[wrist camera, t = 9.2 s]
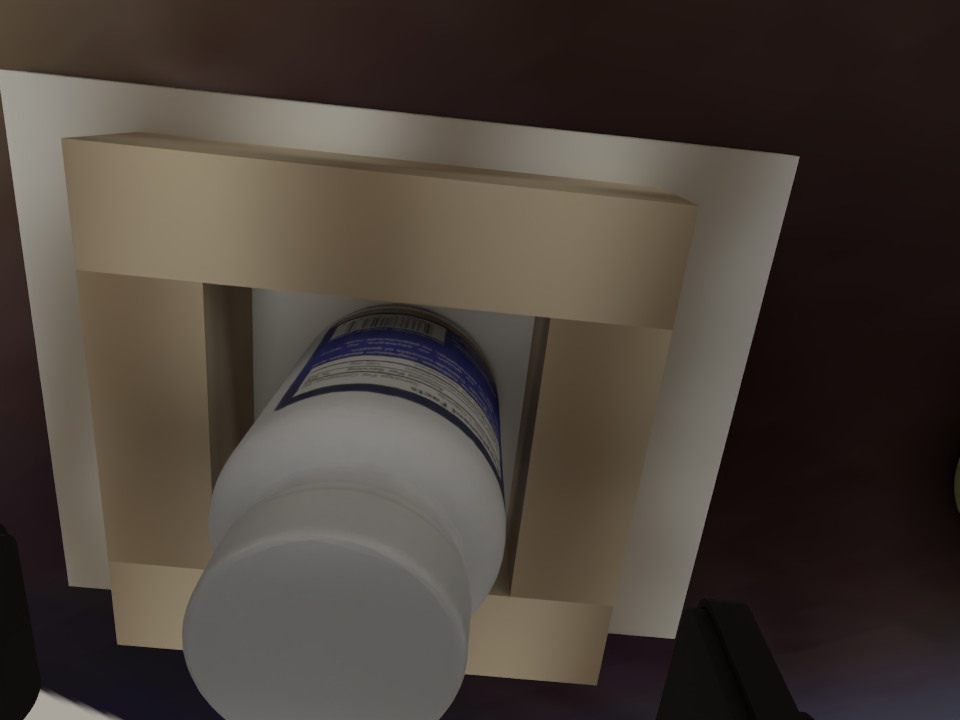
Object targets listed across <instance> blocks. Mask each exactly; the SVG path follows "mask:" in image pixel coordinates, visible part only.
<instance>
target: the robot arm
mask: <svg viewBox="0 0 960 720" xmlns="http://www.w3.org/2000/svg"><path fill="white" fill-rule="evenodd" d="M40 685H41V683H40V674H39V668H38V662H37V657H36V651H35V645H34V639H33V634H32V628H31V622H30V616H29V611H28V605H27V599H26V593H25V587H24V582H23V576H22V570H21V564H20V559H19V553H18V547H17V543H16V540H15V538H14V537H13V536H11V535H8V534H7V531H6V528H5V527H4V526H3V525H2V524H0V720H23V719H24V718H25V717H26V716H27V714H28V713H29V712H30V710H31V709H32V707H33V705H34V704H35V701H36V699H37V697H38V694H39V691H40ZM656 720H814V719H813V718H812V717H811V716H810V715H809V714H808V713H806V712H799V711H798V708H797V706H796V704H795V702H794V700H793V698H792V696H791V694H790V692H789V690H788V688H787V686H786V683H785V681H784V679H783V677H782V675H781V673H780V671H779V669H778V667H777V665H776V663H775V661H774V658H773V656H772V654H771V652H770V650H769V648H768V646H767V644H766V642H765V640H764V638H763V636H762V633H761V631H760V629H759V627H758V625H757V623H756V621H755V619H754V617H753V615H752V613H751V611H750V609H749V607H748V606H747V605H746V604H745V603H743V602H734V601H725V600H716V599H706V598H704V599H701V601H700V602H699V603H698V606H697V608H687V609H686V610H685V613H684V615H683V619H682V623H681V627H680V630H679V634H678V638H677V642H676V645H675V649H674V653H673V657H672V661H671V664H670V668H669V672H668V676H667V679H666V683H665V687H664V691H663V695H662V698H661V702H660V706H659V710H658V713H657V717H656Z"/></svg>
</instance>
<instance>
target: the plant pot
mask: <svg viewBox="0 0 960 720" xmlns="http://www.w3.org/2000/svg"><path fill="white" fill-rule="evenodd" d="M954 495H955V501H956V505H957V508H958V511H959V513H960V458H959V461H958V465H957V468H956V473H955V479H954Z"/></svg>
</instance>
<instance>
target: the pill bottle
mask: <svg viewBox="0 0 960 720" xmlns="http://www.w3.org/2000/svg"><path fill="white" fill-rule="evenodd" d="M208 527H209V542H210V546H211V550H212V554H213V555H212V557H211V559H210V561H209V563H208V564H207V566H206V568H205V570H204V572H203V574H202V576H201V577H200V579H199V581H198V583H197V585H196V587H195V589H194V591H193V593H192V595H191V597H190V599H189V602H188V605H187V608H186V611H185V615H184V620H183V628H182V640H183V652H184V656H185V660H186V663H187V667H188V670H189V672H190V674H191V676H192V678H193V680H194V682H195V684H196V686H197V688H198V690H199V691H200V693H201V694H202V695H203V697H204V698H205V699H206V700H207V701H208V703H209V704H210V705H211V706H212V707H213V708H214V709H215V710H216V711H217V712H218V713H219V714H220V715H221V716H222V717H223V718H225V719H226V720H439V719H440V717H441V716H442V715H443V714H444V713H445V711H446V710H447V709H448V707H449V706H450V705H451V703H452V702H453V700H454V698H455V696H456V695H457V693H458V691H459V689H460V686H461V683H462V681H463V678H464V674H465V669H466V664H467V657H468V643H469V630H470V619H471V616H472V615H473V614H474V613H475V612H476V611H477V610H478V608H479V607H480V605H481V604H482V603H483V601H484V600H485V598H486V596H487V595H488V593H489V592H490V590H491V588H492V586H493V584H494V582H495V580H496V578H497V576H498V573H499V570H500V566H501V563H502V559H503V554H504V548H505V536H506V508H505V496H504V481H503V461H502V450H501V432H500V414H499V399H498V391H497V385H496V381H495V378H494V375H493V372H492V369H491V367H490V365H489V363H488V361H487V359H486V358H485V356H484V354H483V353H482V351H481V350H480V349H479V347H478V346H477V345H476V343H475V342H474V341H473V340H472V339H471V338H470V337H469V336H468V335H467V334H466V333H465V332H464V331H463V330H461V329H460V328H459V327H457V326H456V325H455V324H453V323H452V322H450V321H448V320H447V319H445V318H443V317H441V316H439V315H436V314H434V313H431V312H428V311H425V310H422V309H418V308H413V307H407V306H394V305H389V306H377V307H372V308H366V309H363V310H360V311H357V312H354V313H352V314H350V315H347V316H345V317H343V318H341V319H340V320H338V321H336V322H335V323H333V324H332V325H330V326H329V327H327V328H326V329H325V330H324V331H323V332H322V333H321V334H319V335H318V336H317V337H316V338H315V340H314V341H313V342H312V343H311V344H310V345H309V347H308V348H307V349H306V351H305V352H304V354H303V355H302V357H301V358H300V359H299V361H298V362H297V364H296V365H295V367H294V368H293V370H292V371H291V373H290V374H289V376H288V377H287V378H286V380H285V381H284V382H283V384H282V385H281V387H280V388H279V390H278V391H277V392H276V394H275V395H274V397H273V398H272V399H271V401H270V402H269V403H268V405H267V406H266V407H265V409H264V410H263V411H262V413H261V414H260V416H259V417H258V419H257V420H256V421H255V423H254V424H253V425H252V427H251V428H250V430H249V431H248V432H247V434H246V435H245V436H244V438H243V439H242V440H241V442H240V443H239V444H238V446H237V447H236V449H235V450H234V451H233V453H232V454H231V456H230V457H229V459H228V460H227V462H226V463H225V465H224V467H223V469H222V471H221V473H220V475H219V477H218V479H217V482H216V484H215V487H214V490H213V494H212V497H211V503H210V510H209V523H208Z"/></svg>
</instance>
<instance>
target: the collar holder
mask: <svg viewBox="0 0 960 720" xmlns="http://www.w3.org/2000/svg"><path fill="white" fill-rule="evenodd" d="M0 90H1V97H2V104H3V112H4V119H5V126H6V133H7V141H8V148H9V155H10V162H11V170H12V177H13V184H14V191H15V198H16V206H17V213H18V220H19V227H20V235H21V242H22V249H23V256H24V263H25V271H26V278H27V285H28V292H29V300H30V307H31V314H32V321H33V328H34V336H35V343H36V350H37V357H38V365H39V372H40V379H41V386H42V393H43V401H44V408H45V415H46V422H47V430H48V437H49V444H50V451H51V458H52V466H53V473H54V480H55V487H56V495H57V502H58V509H59V516H60V524H61V531H62V538H63V545H64V552H65V560H66V567H67V574H68V581H69V586H77V587H89V588H100V589H111V592H112V601H113V609H114V618H115V627H116V636H117V644H119V645H131V646H142V647H154V648H166V649H178V650H183V640H182V628H183V620H184V615H185V611H186V608H187V605H188V602H189V599H190V597H191V595H192V593H193V591H194V589H195V587H196V585H197V583H198V581H199V579H200V577H201V576H202V574H203V572H204V570H205V568H206V566H207V564H208V563H209V561H210V559H211V557H212V555H213V554H212V550H211V546H210V542H209V527H208V523H209V510H210V503H211V497H212V494H213V490H214V487H215V484H216V482H217V479H218V477H219V475H220V473H221V471H222V469H223V467H224V465H225V463H226V462H227V460H228V459H229V457H230V456H231V454H232V453H233V451H234V450H235V449H236V447H237V446H238V444H239V443H240V442H241V440H242V439H243V438H244V436H245V435H246V434H247V432H248V431H249V430H250V428H251V427H252V425H253V424H254V423H255V421H256V420H257V419H258V417H259V416H260V414H261V413H262V411H263V410H264V409H265V407H266V406H267V405H268V403H269V402H270V401H271V399H272V398H273V397H274V395H275V394H276V392H277V391H278V390H279V388H280V387H281V385H282V384H283V382H284V381H285V380H286V378H287V377H288V376H289V374H290V373H291V371H292V370H293V368H294V367H295V365H296V364H297V362H298V361H299V359H300V358H301V357H302V355H303V354H304V352H305V351H306V349H307V348H308V347H309V345H310V344H311V343H312V342H313V341H314V340H315V338H316V337H317V336H318V335H319V334H321V333H322V332H323V331H324V330H325V329H326V328H327V327H329V326H330V325H332V324H333V323H335V322H336V321H338V320H340V319H341V318H343V317H345V316H347V315H350V314H352V313H354V312H357V311H360V310H363V309H366V308H372V307H377V306H389V305H394V306H407V307H413V308H418V309H422V310H425V311H428V312H431V313H434V314H436V315H439V316H441V317H443V318H445V319H447V320H448V321H450V322H452V323H453V324H455V325H456V326H457V327H459V328H460V329H461V330H463V331H464V332H465V333H466V334H467V335H468V336H469V337H470V338H471V339H472V340H473V341H474V342H475V343H476V345H477V346H478V347H479V349H480V350H481V351H482V353H483V354H484V356H485V358H486V359H487V361H488V363H489V365H490V367H491V369H492V372H493V375H494V378H495V381H496V385H497V391H498V399H499V414H500V432H501V450H502V461H503V481H504V496H505V508H506V536H505V548H504V554H503V559H502V563H501V566H500V570H499V573H498V576H497V578H496V580H495V582H494V584H493V586H492V588H491V590H490V592H489V593H488V595H487V596H486V598H485V600H484V601H483V603H482V604H481V605H480V607H479V608H478V610H477V611H476V612H475V613H474V614H473V615H472V616H471V619H470V630H469V643H468V657H467V664H466V669H465V674H471V675H482V676H494V677H506V678H518V679H529V680H541V681H553V682H564V683H576V684H588V685H597V681H598V676H599V672H600V667H601V662H602V658H603V653H604V648H605V644H606V639H607V634H608V633H614V634H625V635H637V636H648V637H660V638H671V639H675V636H676V632H677V628H678V624H679V620H680V616H681V612H682V609H683V605H684V601H685V597H686V593H687V589H688V585H689V582H690V578H691V574H692V570H693V566H694V562H695V558H696V555H697V551H698V547H699V543H700V539H701V535H702V531H703V528H704V524H705V520H706V516H707V512H708V508H709V504H710V501H711V497H712V493H713V489H714V485H715V481H716V477H717V474H718V470H719V466H720V462H721V458H722V454H723V450H724V447H725V443H726V439H727V435H728V431H729V427H730V423H731V420H732V416H733V412H734V408H735V404H736V400H737V396H738V393H739V389H740V385H741V381H742V377H743V373H744V369H745V366H746V362H747V358H748V354H749V350H750V346H751V342H752V339H753V335H754V331H755V327H756V323H757V319H758V315H759V312H760V308H761V304H762V300H763V296H764V292H765V288H766V285H767V281H768V277H769V273H770V269H771V265H772V261H773V258H774V254H775V250H776V246H777V242H778V238H779V234H780V231H781V227H782V223H783V219H784V215H785V211H786V207H787V204H788V200H789V196H790V192H791V188H792V184H793V180H794V177H795V173H796V169H797V165H798V161H799V156H793V155H787V154H780V153H771V152H762V151H753V150H744V149H734V148H725V147H716V146H707V145H698V144H688V143H679V142H670V141H661V140H652V139H642V138H633V137H624V136H615V135H606V134H597V133H587V132H578V131H569V130H560V129H551V128H541V127H532V126H523V125H514V124H505V123H495V122H486V121H477V120H468V119H459V118H449V117H440V116H431V115H422V114H413V113H404V112H394V111H385V110H376V109H367V108H358V107H348V106H339V105H330V104H321V103H312V102H302V101H293V100H284V99H275V98H266V97H256V96H247V95H238V94H229V93H220V92H211V91H201V90H192V89H183V88H174V87H165V86H155V85H146V84H137V83H128V82H119V81H109V80H100V79H91V78H82V77H73V76H63V75H54V74H45V73H36V72H27V71H13V70H0Z"/></svg>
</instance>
